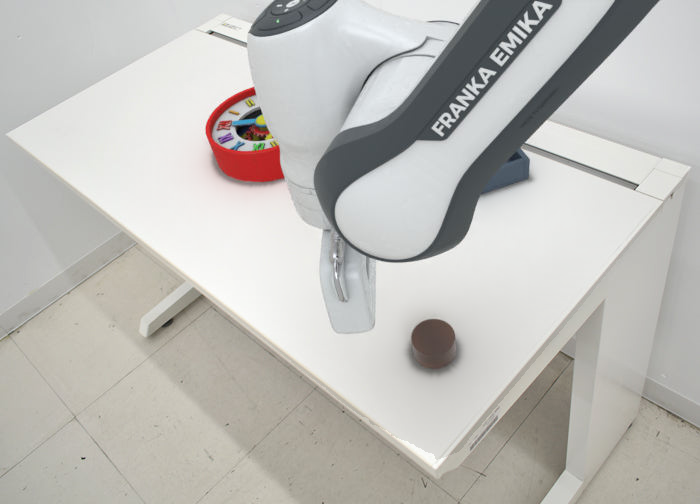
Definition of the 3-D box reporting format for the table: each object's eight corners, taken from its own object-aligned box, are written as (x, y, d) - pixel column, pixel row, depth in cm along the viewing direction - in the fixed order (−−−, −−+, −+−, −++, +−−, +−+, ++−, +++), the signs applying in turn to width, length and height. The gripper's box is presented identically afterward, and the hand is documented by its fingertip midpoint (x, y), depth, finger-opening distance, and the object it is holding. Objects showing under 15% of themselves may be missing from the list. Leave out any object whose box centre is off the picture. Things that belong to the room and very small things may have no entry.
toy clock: (315, 147, 93) (192, 159, 96) (323, 176, 97) (205, 187, 100) (327, 76, 106) (219, 88, 109) (333, 104, 110) (229, 115, 114)
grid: (483, 123, 99) (483, 104, 97) (528, 178, 89) (530, 159, 86) (395, 151, 98) (392, 133, 96) (430, 211, 88) (428, 192, 85)
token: (446, 327, 74) (444, 313, 71) (462, 360, 70) (462, 346, 68) (407, 341, 73) (405, 326, 71) (422, 374, 70) (420, 360, 68)
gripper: (374, 268, 45) (399, 368, 55) (377, 108, 59) (396, 212, 68) (291, 276, 46) (330, 373, 56) (313, 117, 60) (341, 218, 69)
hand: (367, 283), depth 62 cm, fingers open, 8 cm apart
